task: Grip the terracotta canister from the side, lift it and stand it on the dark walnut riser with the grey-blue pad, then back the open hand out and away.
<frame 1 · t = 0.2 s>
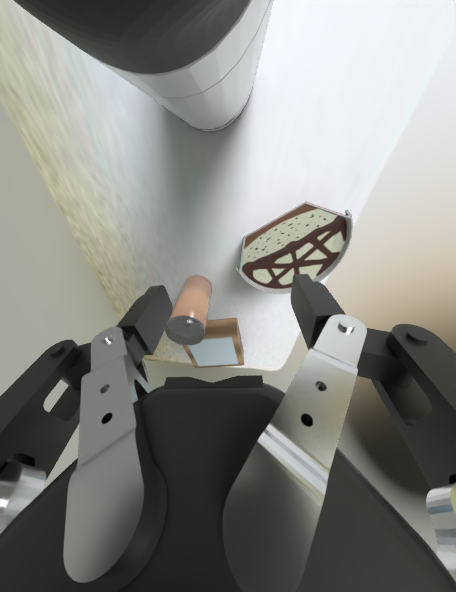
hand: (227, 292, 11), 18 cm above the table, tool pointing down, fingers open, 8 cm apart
walnut riser: (215, 337, 42), on the table
terracotta canister: (198, 287, 33), on the table
food container: (280, 238, 27), on the table
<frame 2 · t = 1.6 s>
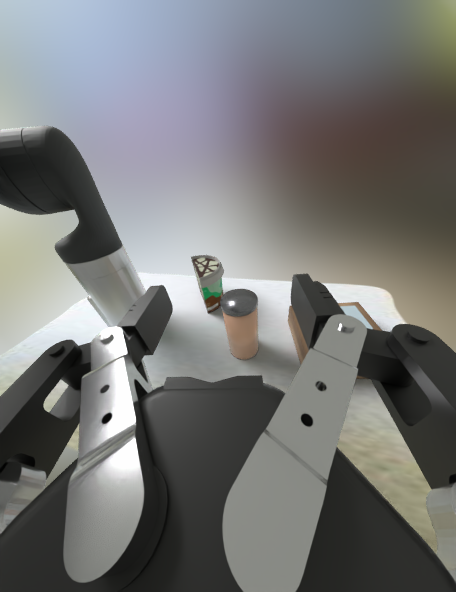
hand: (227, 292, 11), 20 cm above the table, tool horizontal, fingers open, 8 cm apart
walnut riser: (331, 344, 30), on the table
terracotta canister: (243, 346, 32), on the table
food container: (215, 298, 45), on the table
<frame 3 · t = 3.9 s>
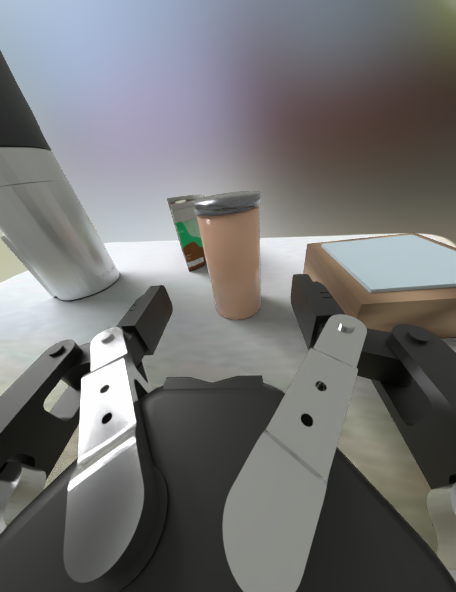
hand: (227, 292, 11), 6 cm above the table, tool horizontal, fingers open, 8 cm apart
walnut riser: (378, 294, 19), on the table
terracotta canister: (238, 304, 20), on the table
food container: (201, 258, 33), on the table
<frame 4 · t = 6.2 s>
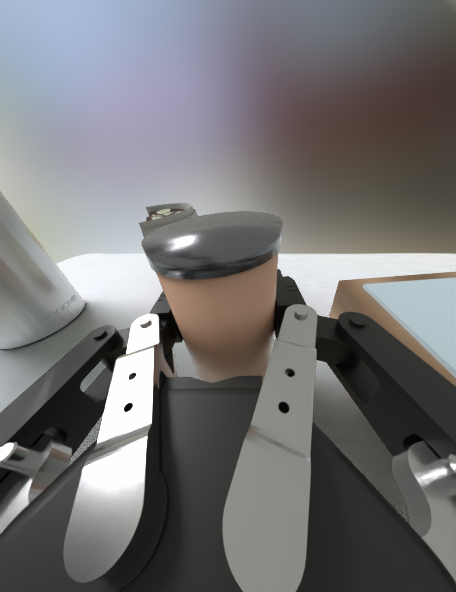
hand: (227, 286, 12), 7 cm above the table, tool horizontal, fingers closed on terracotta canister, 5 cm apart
terracotta canister: (236, 375, 13), on the table, touching gripper
food container: (191, 282, 26), on the table
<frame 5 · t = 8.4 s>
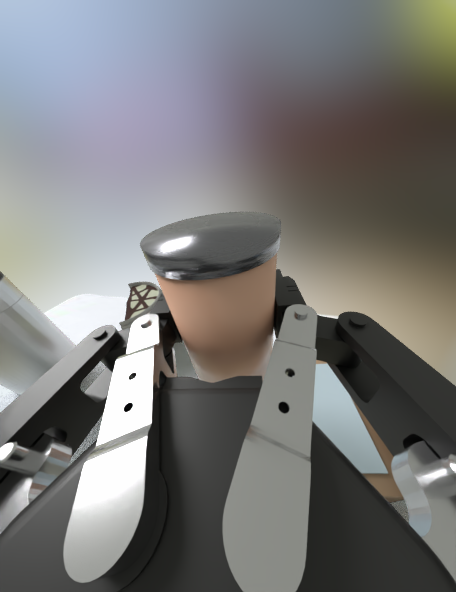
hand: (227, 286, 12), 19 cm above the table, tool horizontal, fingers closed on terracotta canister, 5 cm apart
walnut riser: (301, 422, 21), on the table
terracotta canister: (236, 376, 13), point 12 cm above the table, touching gripper
food container: (164, 335, 35), on the table
when the fingers open (12 cm above the table, at t = 10.7 s): terracotta canister stays where it is, resting on walnut riser.
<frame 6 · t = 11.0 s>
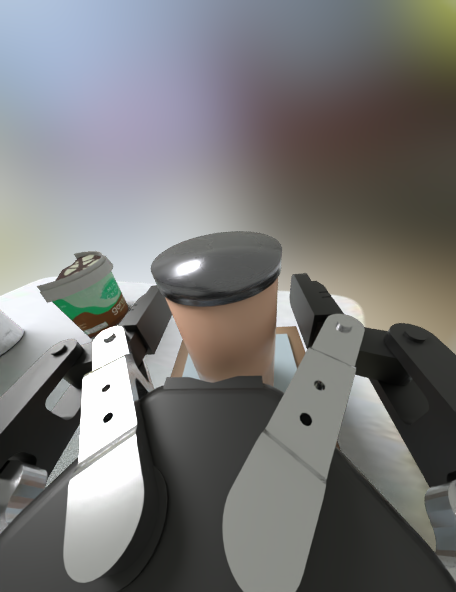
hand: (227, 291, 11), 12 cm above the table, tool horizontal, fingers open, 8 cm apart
walnut riser: (242, 406, 16), on the table
terracotta canister: (239, 384, 14), point 4 cm above the table, touching walnut riser
food container: (117, 314, 31), on the table
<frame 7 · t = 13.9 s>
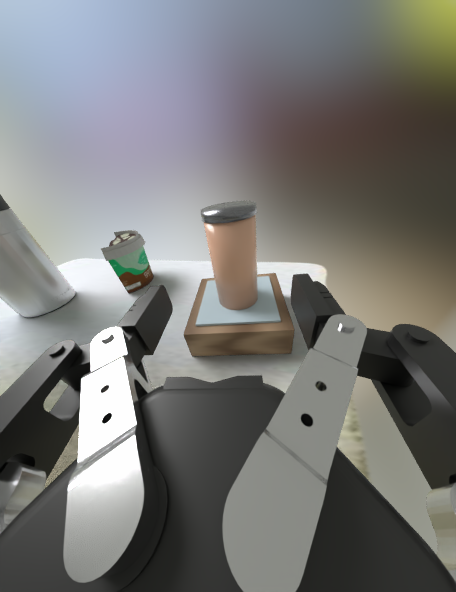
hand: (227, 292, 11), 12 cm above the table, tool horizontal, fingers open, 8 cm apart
walnut riser: (239, 319, 26), on the table
terracotta canister: (238, 297, 23), point 4 cm above the table, touching walnut riser
food container: (145, 280, 41), on the table
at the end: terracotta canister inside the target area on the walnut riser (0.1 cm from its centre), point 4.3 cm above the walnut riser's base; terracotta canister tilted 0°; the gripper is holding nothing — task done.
